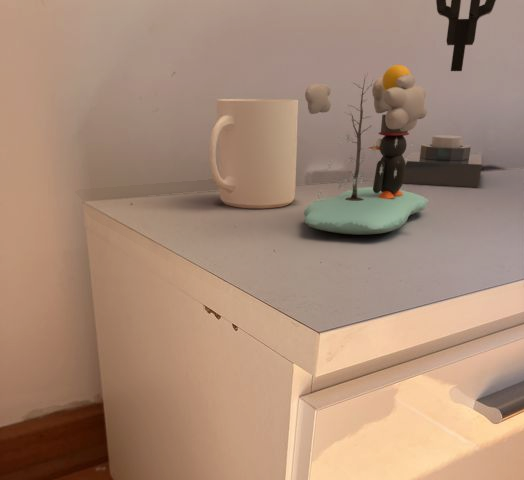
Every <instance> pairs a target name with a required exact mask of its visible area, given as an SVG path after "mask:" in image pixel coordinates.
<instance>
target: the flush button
mask: <svg viewBox="0 0 524 480" xmlns="http://www.w3.org/2000/svg"><path fill="white" fill-rule="evenodd" d="M430 143H431V146H436V147H461V145H462V143H463V136H460V135H447V134H446V135H445V134H441V135H440V134H439V135H437V134H436V135H432V138H431V142H430Z"/></svg>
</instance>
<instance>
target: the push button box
mask: <svg viewBox="0 0 524 480" xmlns="http://www.w3.org/2000/svg"><path fill="white" fill-rule="evenodd" d="M431 143H432V142H430V143H422V144H420V151H419V152H418V151H417V152H416V151H412V152H411V153H410V154H409V155H408V156H406V157H405V159H406V160H407V163H406V165H405V172H404V181H403V184H411V185H412V184H413V185H414V184H415V185H429V186H448V187H464V188H479V185H480V180H481V179H480V178H481V174H482V169H483V168H482V167H483V159H482V154H471V148H472V146H471V145H468V144H461V147H436V146H431ZM405 159H404V161H405Z"/></svg>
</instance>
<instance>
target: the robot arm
mask: <svg viewBox="0 0 524 480" xmlns="http://www.w3.org/2000/svg"><path fill="white" fill-rule="evenodd" d="M496 1H497V0H485V2H484V4H482V5H481V0H470V5H469V11H468V18H460V11H461V5H462V4H461V3H462V0H451V1H450V5H447V0H435V3H436V4H435V5H436V11H437V14H438V15H439V16H441V17H444V18H446V19H448V25H447V33H446V41H445V42H446V45H447V46H453V50H452V57H451V66H450V72H462V71H463V65H464V57H465V52H466V46H473V45H474V43H475V40H476V33H477V27H478V26H477V25H478V21H479V19H480V18H482V17H484V16H486V15H490V14H491V13H492V12H493V9H494V7H495V4H496Z"/></svg>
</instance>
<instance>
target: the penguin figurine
mask: <svg viewBox="0 0 524 480" xmlns="http://www.w3.org/2000/svg"><path fill="white" fill-rule="evenodd" d="M366 74H368V72H366ZM367 77H368V75H365V77H364V78H363V87H361V86H360V84H359V83H357V84H356V83H354V82H353V81H352V82H350V83H353V85H356V86H357V87H358V88H359V89H362V91H361V94H360V96H361V97H360V107H359V108H356V110H357V111H359V112H360V113H359V114H360V115H359V122H358V121H357V120H355V118H354V116H353V114H352V112H351V111H349V112H350V114H349V113H347V114H348V115H350V116H351V122H352V127H353V129H354V132H353V133H354V135H356V141H354V139H353V138H351V134H348V133H347V134H346V135H345V136H346V139H345V141H346V142H347V144H349V142H350V141H351V142H352V144H356V159H355V170H354V174H353V172H352V171H347V172H348V173H350V174H351V175H352V177H353V178H352V183H351V185H352V188H351V189H348V190H346V191H344V192H343V193H341V194H340V195H338V196H337V195H336V196H330V197H324V198H321V199H320V197H322V192H323V190H321V189H320V190H318V194H317V197H318V198H319V199H318V200H315V201H313V202H311V203H310V204H308V205H307V207H305V209H304V212H303V214H304V217H305V218H304V219H303V221H304V224H305V225H307V226H308V227H309V228H312V229H316V230H320V231H324V232H328V233H329V232H330V233H334V234H335V233H336V234H343V235H355V236H356V235H357V236H358V235H359V236H362V235H363V236H365V235H366V236H367V235H368V236H369V235H378V234H385V233H389V232H393V231H396V230H398V229H400V228H401V227H403V226H404V225H405V224H406V223H407V221H408V218H409V217H410V216H411V215H414V214H416V213H420V212H421V211H423V210H425V209H426V207H427V206H428V204H429V199H427V197H424V196H422V195H420V194H417V193H414V192H411V191H408V190H403V189H401V188H402V187H403V184H404V183H403V181H404V172H405V165H406V163H407V160H406V158H404V156H403V155H404V153H405V151H406V149H407V139H406V138H405V136H408V135H410V132H409V131H411V130H413V129H414V128H416V126H417V123H418V120H423V119H424V118H425V117H426V116H427V114H428V112H427V108H426V106H425V99H426V96H427V95H426V94H427V93H426V90H425V89H424V87H422V86H419V85H415V84H416V77H415V76H414V75H413V74H411V72H410V70H409V68H407V67H406V66H405V65H402V64H393V65H392V66H389V67H388V69H386V70H385V72H384V74H383V76H380V77H378V78H377V79H376V80H374V83H373V80H372V82H371V84H370V85H368V86H367V88H366V90H365V92H364V89H365V84H366V83H365V82H366V78H367ZM373 79H375V77H374V78H373ZM372 83H373V84H372ZM371 86H372V90H371V92H372V97H373V107H374V111H375V113H376V114H381V124H380V125H381V126H380V132H378V135H380V136H383V137H382V138H378V139H376V141H375V143H373V144H374V145H372V146H370V147H368V149H371V150H372V151H371V152H372V154H373V155H374V153H375V152H376V150H377V151H379V152H380V154H381V155H382V157H380V160H378V161H377V163H376V168H375V173H374V180H373V185H372V186H368V187H367V186H366V187H365V186H364V187H358V180H360V183H361V184H362V183H363V179H361V178H364V175H365V173H364V172H360V165H361V164H362V163H363V161H361V158H365V155H366V153H365V152H364V151H363V153H362V156H361V151H362V134H363V133H364V132H365V131H368V129H370V128H371V126H369V127H367V128H365V129H363V130H362V123H363V120H364V119H365V117H363V116H364V115H363V114H364V109H363V102H366V101H367V99H364V97H363V96H364V95H365V93H366V92H367V91H368V90H369V89H370V87H371ZM330 95H331V87H330V86H329V85H328V84H320V83H313V84H311V85H309V86H308V87H307V88H306V90H305V93H304V97H305V101H306V102H307V109H308V112H309V114H311V115H316V114H319V113H328V112H330V110H331V99H330V98H329V96H330ZM348 107H352V108H354V106H353V105H351V104H350V105H349V104H348ZM343 113H344V114H346V112H345V111H344V112H343ZM384 113H385V114H384ZM371 117H373V114H372V115H369V116H366V119H367V118H371ZM355 122H356V124H355ZM356 125H358V130H357V129H356ZM343 138H344V136H342V135H340V136H338V139H339V140H338V142H339V144H342V143H343ZM350 138H351V139H350ZM410 145H411V146H410V148H411V149H410V150H411V151H412V150H413V148H414V141H411V143H410ZM365 149H366V148H365V147H364V150H365ZM350 156H351V157H349V164H350V166H351V165H352V163H353V161H354V157H352V156H353V155H352V154H351V155H350ZM404 160H405V161H404ZM360 161H361V162H360ZM332 164H333V163H332V162H330V163H328V164H327V166H328V167H327V168H328V171H330V170H331V169H332ZM343 182H344V184H343ZM343 182H342V181H341V179H340V180H339V182H338V186H337V187H338V190H340V189H341V188H342V184H343V186H344V187H346V186H347V184H348V183H347V182H348V179H344V180H343Z"/></svg>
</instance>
